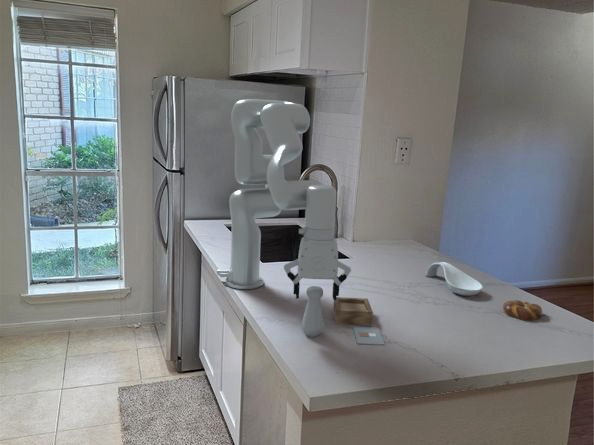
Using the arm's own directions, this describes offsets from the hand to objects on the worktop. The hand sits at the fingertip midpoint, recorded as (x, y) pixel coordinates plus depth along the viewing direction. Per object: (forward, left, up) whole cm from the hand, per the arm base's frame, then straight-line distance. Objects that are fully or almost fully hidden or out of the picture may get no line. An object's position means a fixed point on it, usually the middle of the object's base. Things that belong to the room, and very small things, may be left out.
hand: (315, 297), depth 135 cm
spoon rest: (+50, +43, -11) cm, 67 cm away
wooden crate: (+12, +13, -10) cm, 20 cm away
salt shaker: (0, +1, -11) cm, 11 cm away
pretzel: (+66, +21, -11) cm, 70 cm away
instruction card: (+15, +1, -10) cm, 18 cm away
